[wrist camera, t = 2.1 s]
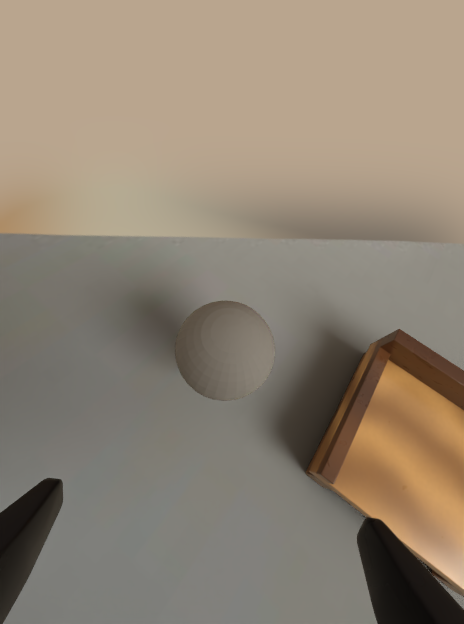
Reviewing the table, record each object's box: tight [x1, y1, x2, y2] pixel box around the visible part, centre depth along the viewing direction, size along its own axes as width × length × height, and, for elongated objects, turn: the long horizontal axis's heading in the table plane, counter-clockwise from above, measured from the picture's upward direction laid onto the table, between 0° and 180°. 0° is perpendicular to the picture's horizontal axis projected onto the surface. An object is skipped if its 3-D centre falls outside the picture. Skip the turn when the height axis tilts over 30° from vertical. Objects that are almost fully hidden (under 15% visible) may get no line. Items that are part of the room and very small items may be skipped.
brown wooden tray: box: [306, 329, 464, 597], centre depth 19 cm, size 12×13×6 cm
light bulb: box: [175, 301, 275, 401], centre depth 18 cm, size 6×6×10 cm
